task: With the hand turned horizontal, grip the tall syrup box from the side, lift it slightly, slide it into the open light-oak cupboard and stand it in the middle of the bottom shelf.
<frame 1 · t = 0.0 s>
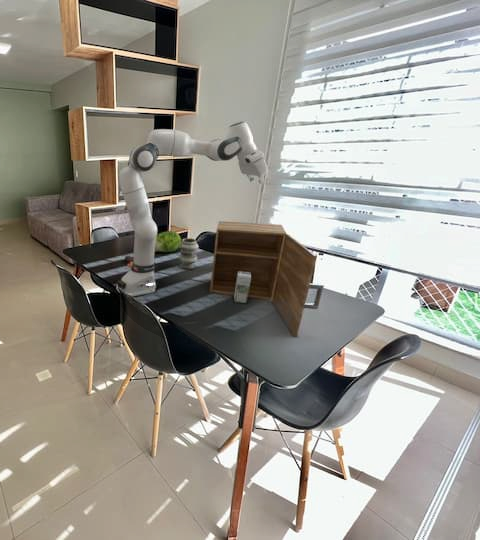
hand: (257, 182, 142), 54 cm above the table, tool tilted 30°, fingers open, 8 cm apart
candy box: (231, 268, 182), on the table
ribbed grey vase: (187, 267, 186), on the table
cabinet door: (298, 282, 121), point 17 cm above the table, hinge at 100.0°
ice cream bar: (130, 263, 194), on the table
lettuce: (165, 251, 215), on the table
syrup box: (240, 300, 143), on the table
cabinet: (240, 288, 155), on the table
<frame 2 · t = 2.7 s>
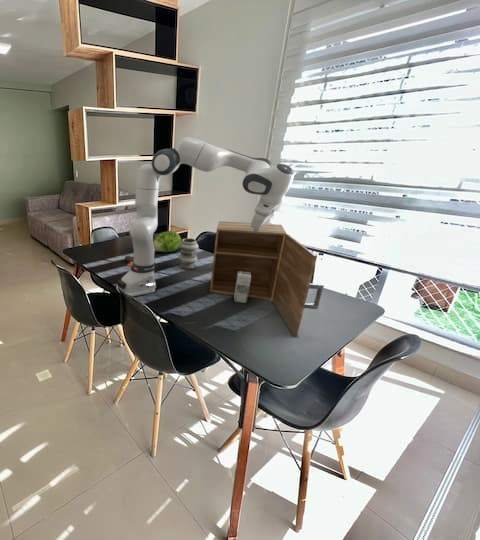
hand: (259, 226, 135), 35 cm above the table, tool tilted 25°, fingers open, 7 cm apart
nothing on the table moved.
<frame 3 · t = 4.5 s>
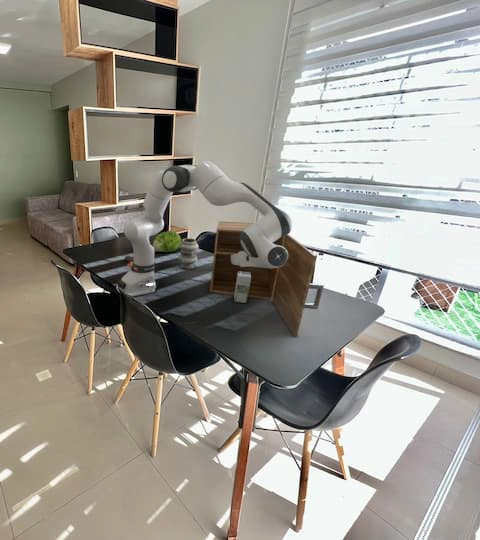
hand: (251, 256, 129), 25 cm above the table, tool tilted 70°, fingers open, 8 cm apart
nothing on the table moved.
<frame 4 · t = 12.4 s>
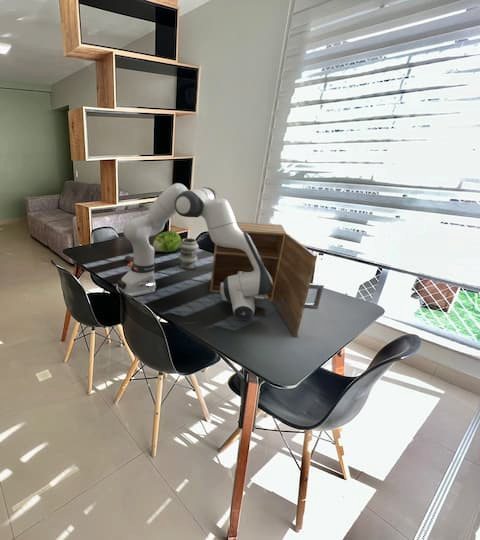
hand: (242, 284, 140), 9 cm above the table, tool horizontal, fingers closed on syrup box, 6 cm apart
syrup box: (240, 300, 143), on the table, touching gripper
everything else where it was.
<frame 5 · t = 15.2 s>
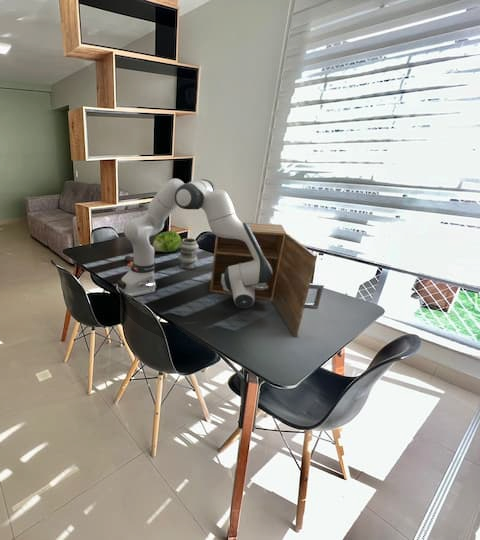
hand: (243, 275, 143), 11 cm above the table, tool horizontal, fingers closed on syrup box, 6 cm apart
syrup box: (240, 291, 145), point 3 cm above the table, touching gripper
everything else where it was.
when the fingers open (10 cm above the table, at t = 18.2 s): syrup box stays where it is, resting on cabinet.
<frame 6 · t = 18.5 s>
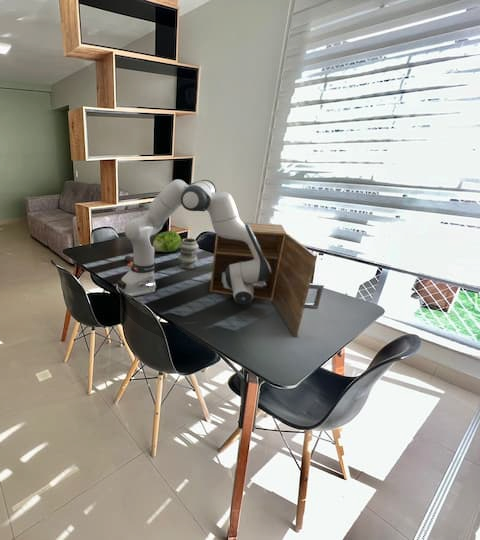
hand: (242, 273, 150), 9 cm above the table, tool horizontal, fingers open, 8 cm apart
syrup box: (240, 289, 152), point 1 cm above the table, touching cabinet
everything else where it was.
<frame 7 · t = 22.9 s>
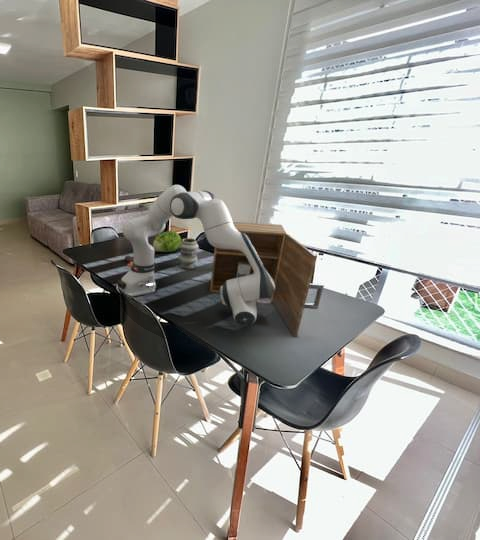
hand: (243, 287, 133), 10 cm above the table, tool horizontal, fingers open, 8 cm apart
nothing on the table moved.
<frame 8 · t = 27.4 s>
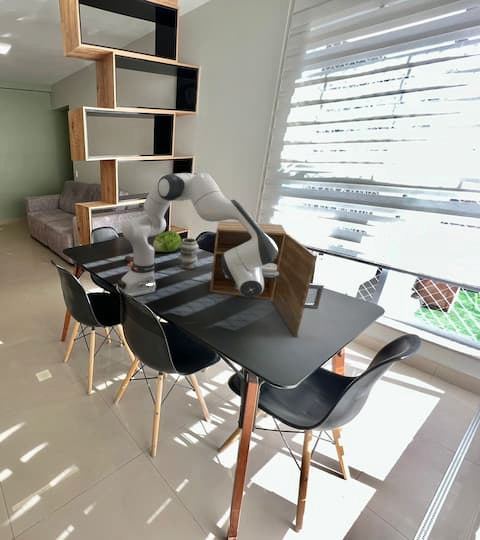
hand: (248, 261, 123), 25 cm above the table, tool horizontal, fingers open, 8 cm apart
nothing on the table moved.
at the end: syrup box inside the target area in the cabinet (0.2 cm from its centre), point 0.8 cm above the cabinet's base; syrup box tilted 0°; the gripper is holding nothing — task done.
